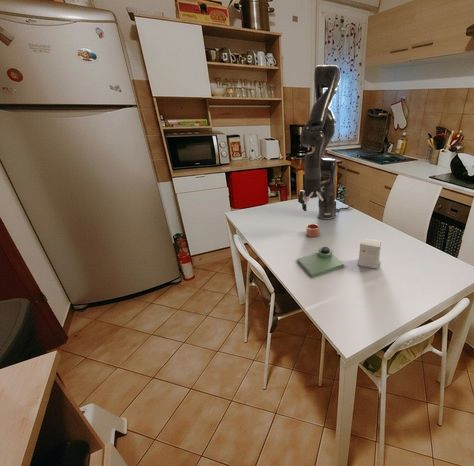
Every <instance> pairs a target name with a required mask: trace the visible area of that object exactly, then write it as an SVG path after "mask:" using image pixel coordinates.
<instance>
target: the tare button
mask: <svg viewBox="0 0 474 466" xmlns="http://www.w3.org/2000/svg"><path fill="white" fill-rule="evenodd" d="M321 248H322V253H323V254H327V253H329V249H330V248H329V247H328V246H323V247H321Z"/></svg>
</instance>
